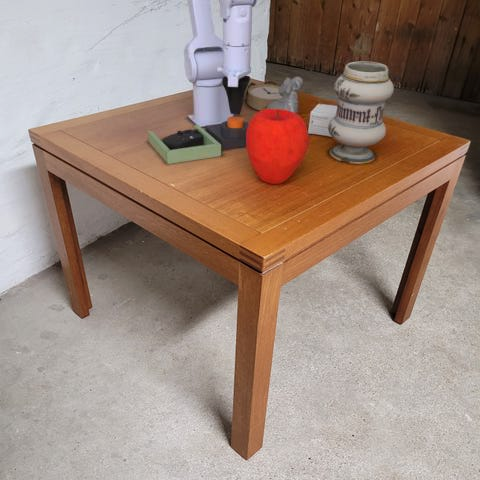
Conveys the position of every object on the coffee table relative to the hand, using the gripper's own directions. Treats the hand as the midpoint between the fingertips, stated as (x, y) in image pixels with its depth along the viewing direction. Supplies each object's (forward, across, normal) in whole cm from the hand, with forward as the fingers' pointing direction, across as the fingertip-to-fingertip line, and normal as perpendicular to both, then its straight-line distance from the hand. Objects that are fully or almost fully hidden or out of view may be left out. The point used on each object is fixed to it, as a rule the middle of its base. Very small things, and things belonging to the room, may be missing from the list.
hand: (235, 113), depth 111 cm
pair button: (+3, 0, 0) cm, 3 cm away
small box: (+7, -11, +21) cm, 25 cm away
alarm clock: (+7, -31, +5) cm, 32 cm away
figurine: (+7, -15, +10) cm, 19 cm away
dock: (+6, +5, -11) cm, 14 cm away
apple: (+7, +19, +10) cm, 22 cm away
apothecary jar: (+7, +3, +26) cm, 27 cm away
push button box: (+6, -2, -1) cm, 7 cm away
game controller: (+7, +4, -11) cm, 13 cm away
